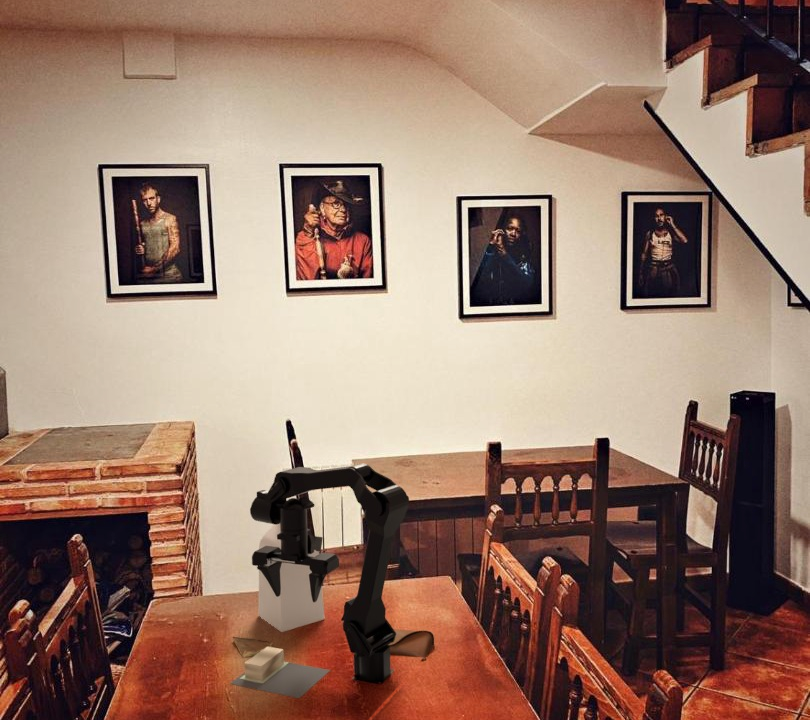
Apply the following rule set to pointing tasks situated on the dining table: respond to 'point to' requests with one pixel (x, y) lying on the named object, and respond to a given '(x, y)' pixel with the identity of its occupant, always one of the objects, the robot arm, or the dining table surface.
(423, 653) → the sunglasses case
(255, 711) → the dining table surface
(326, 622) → the dining table surface
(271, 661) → the birch block
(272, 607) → the milk
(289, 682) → the mat
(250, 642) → the shard
